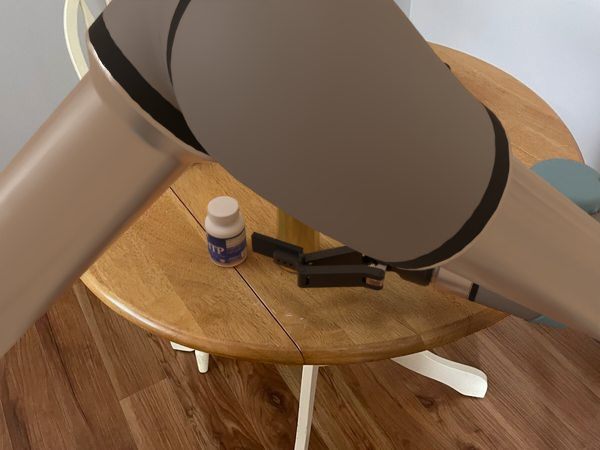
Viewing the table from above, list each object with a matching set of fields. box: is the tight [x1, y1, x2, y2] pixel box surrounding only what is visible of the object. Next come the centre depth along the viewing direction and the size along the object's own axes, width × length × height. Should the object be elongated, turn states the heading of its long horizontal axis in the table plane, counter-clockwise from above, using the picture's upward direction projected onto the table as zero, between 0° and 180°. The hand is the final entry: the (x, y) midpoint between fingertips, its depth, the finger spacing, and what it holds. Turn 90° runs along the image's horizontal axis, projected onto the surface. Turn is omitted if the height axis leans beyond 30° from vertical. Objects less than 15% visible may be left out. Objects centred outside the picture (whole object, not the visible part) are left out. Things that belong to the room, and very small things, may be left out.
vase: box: [276, 207, 321, 274], centre depth 75 cm, size 6×6×14 cm
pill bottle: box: [204, 195, 248, 268], centre depth 77 cm, size 5×5×9 cm
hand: (277, 207), depth 75 cm, fingers open, 13 cm apart
